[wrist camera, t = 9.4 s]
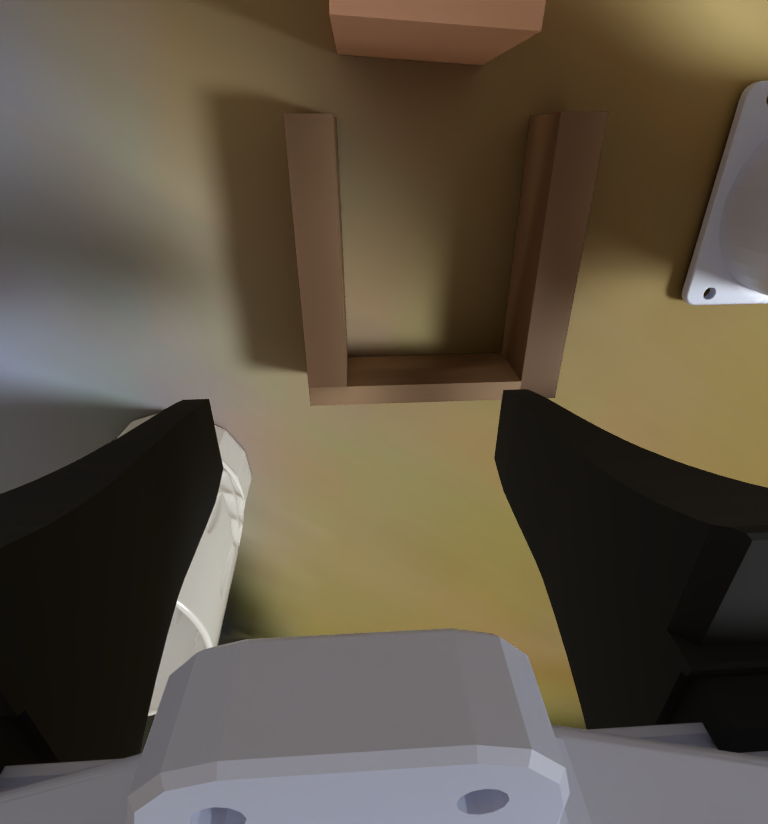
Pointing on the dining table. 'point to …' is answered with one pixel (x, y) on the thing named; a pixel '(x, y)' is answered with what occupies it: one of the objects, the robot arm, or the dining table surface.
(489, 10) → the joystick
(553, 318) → the wooden u-shaped frame
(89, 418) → the dining table surface
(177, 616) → the white cup
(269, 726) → the robot arm
